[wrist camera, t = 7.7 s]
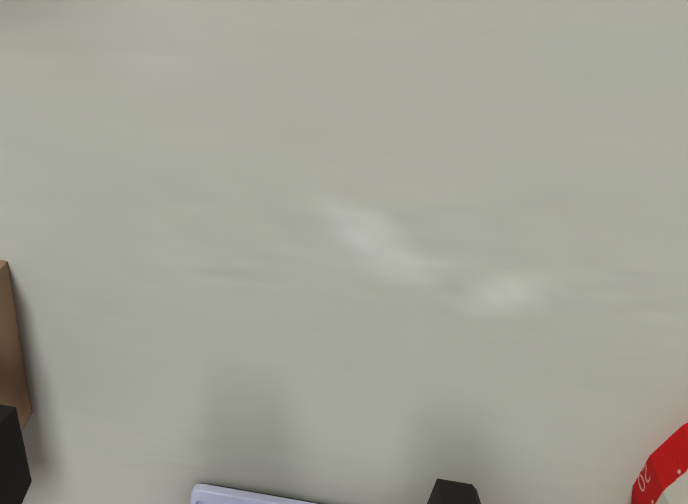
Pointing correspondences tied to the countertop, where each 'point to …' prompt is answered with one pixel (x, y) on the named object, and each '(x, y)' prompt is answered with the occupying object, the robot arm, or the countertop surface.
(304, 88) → the countertop surface
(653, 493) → the kitchen timer
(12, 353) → the tower base
